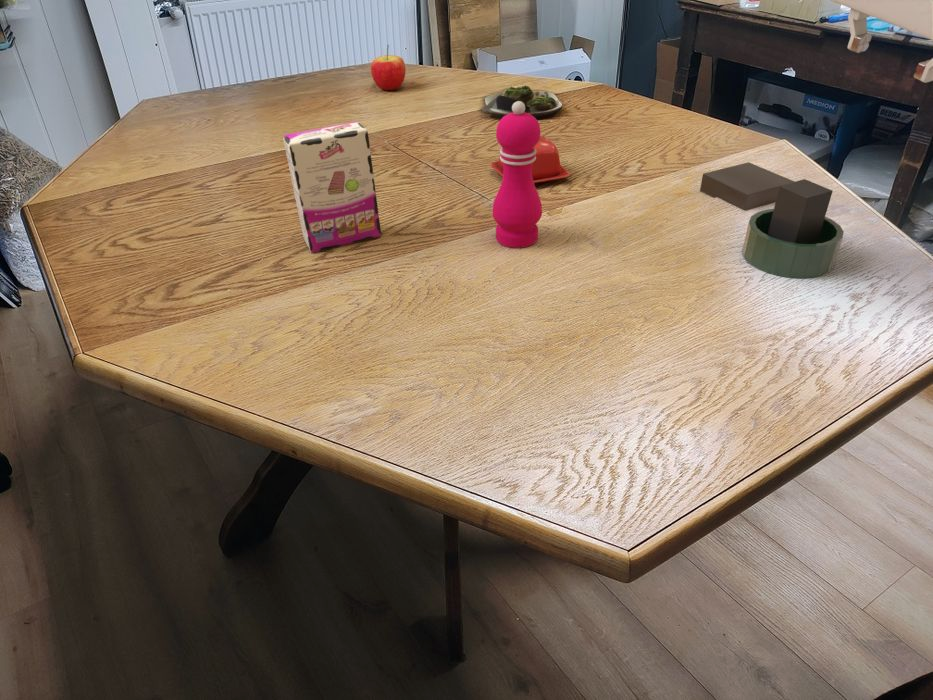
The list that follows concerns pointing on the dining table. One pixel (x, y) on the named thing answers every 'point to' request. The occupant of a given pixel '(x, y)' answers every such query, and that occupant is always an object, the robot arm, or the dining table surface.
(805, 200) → the dark brown block
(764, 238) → the tin
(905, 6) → the robot arm
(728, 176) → the stand
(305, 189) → the candy bar box
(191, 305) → the dining table surface
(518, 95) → the salad plate
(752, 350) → the dining table surface
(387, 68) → the apple
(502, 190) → the pepper mill
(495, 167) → the butter dish
